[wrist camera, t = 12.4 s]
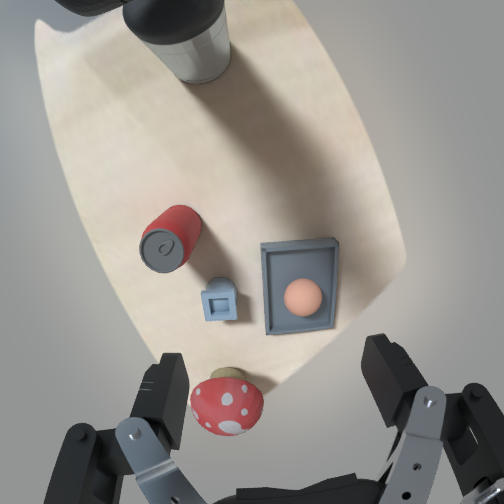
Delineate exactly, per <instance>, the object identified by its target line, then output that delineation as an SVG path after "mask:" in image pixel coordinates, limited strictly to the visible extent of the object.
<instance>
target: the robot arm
mask: <svg viewBox="0 0 504 504" xmlns="http://www.w3.org/2000/svg"><path fill="white" fill-rule="evenodd" d="M55 1H56V2H58V3H59V4H60V5H62V6H63V7H64V8H66V9H68V10H69V11H71V12H73V13H76V14H78V15H81V16H87V17H91V16H96V15H99V14H103V13H105V12H108V11H111V10H113V9H116V8H118V7H120V6H122V5H123V17H124V21H125V23H126V25H127V26H128V28H129V29H130V30H131V31H132V32H133V33H134V34H135V35H136V36H137V37H138V38H139V39H140V40H141V41H142V42H143V43H144V44H145V45H146V46H147V47H148V48H149V49H150V50H151V51H152V52H153V53H154V54H155V55H156V56H157V57H158V58H159V59H160V60H161V61H162V62H163V63H164V64H165V65H166V66H167V67H168V68H169V69H170V70H171V71H172V72H173V73H174V74H175V75H176V76H177V77H178V78H179V79H180V80H182V81H184V82H187V83H192V84H202V83H206V82H209V81H212V80H214V79H216V78H217V77H219V76H220V75H221V74H222V73H223V72H224V71H225V70H226V68H227V67H228V64H229V62H230V57H231V53H230V43H229V34H228V26H227V18H226V11H225V2H224V0H55ZM361 369H362V373H363V376H364V378H365V380H366V382H367V384H368V387H369V388H370V391H371V393H372V395H373V397H374V400H375V402H376V404H377V406H378V408H379V411H380V413H381V415H382V417H383V420H384V422H385V424H386V426H387V428H388V427H391V426H394V425H396V427H397V429H398V430H397V432H396V434H395V437H394V440H393V442H392V445H391V448H390V450H389V453H388V455H387V458H386V460H385V462H384V465H383V467H382V469H381V471H380V473H379V474H378V476H377V478H376V480H375V481H374V480H369V479H357V477H356V474H355V473H352V474H349V475H344V476H339V477H335V478H330V479H327V480H324V481H321V482H319V483H317V484H314V485H312V486H309V487H306V488H304V489H301V490H287V489H277V488H269V487H262V488H242V489H241V488H238V489H236V495H233V496H229V497H226V498H224V499H221V500H219V501H217V502H215V503H213V504H426V503H427V500H428V497H429V494H430V491H431V488H432V485H433V481H434V478H435V475H436V471H437V468H438V464H439V460H440V456H441V452H442V447H444V450H445V452H446V454H447V457H448V459H449V462H450V464H451V466H452V469H453V471H454V474H455V476H456V479H457V482H458V484H459V487H460V489H461V492H462V495H463V499H462V501H461V503H460V504H504V415H503V413H502V412H501V410H500V409H499V407H498V406H497V404H496V402H495V401H494V399H493V398H492V396H491V395H490V393H489V392H488V391H487V389H486V388H485V387H484V386H483V385H481V384H478V383H470V384H468V385H466V386H465V387H464V389H463V391H462V393H453V394H444V392H443V391H442V390H441V389H439V388H437V387H434V386H429V385H428V384H427V382H426V381H425V379H424V378H423V376H422V375H421V373H420V372H419V370H418V369H417V367H416V366H415V364H413V361H412V360H411V358H410V357H409V355H408V354H407V352H406V351H405V350H404V348H403V347H401V346H399V345H398V344H397V343H395V342H393V343H390V341H389V340H388V338H387V337H386V335H385V334H383V333H382V334H377V335H371V336H368V337H367V338H366V342H365V347H364V352H363V356H362V361H361ZM188 394H189V378H188V374H187V371H186V368H185V364H184V361H183V357H182V354H181V353H163V354H162V357H161V360H160V363H159V364H152V365H151V367H150V368H149V369H148V370H147V371H146V372H145V374H144V377H143V380H142V383H141V385H140V390H139V391H138V394H137V397H136V400H135V403H134V405H133V408H132V411H131V414H130V417H129V418H127V419H125V420H123V421H121V422H120V423H119V425H118V426H117V428H115V429H108V430H100V431H96V430H95V429H94V428H93V427H92V426H91V425H89V424H86V423H78V424H75V425H74V426H72V427H71V428H70V429H69V430H68V431H67V434H66V436H65V439H64V442H63V444H62V447H61V450H60V452H59V456H58V458H57V461H56V464H55V467H54V470H53V473H52V476H51V480H50V483H49V486H48V490H47V493H46V497H45V500H44V504H119V499H120V494H121V488H122V482H123V477H124V475H131V474H135V475H136V482H137V484H138V485H139V487H140V489H141V491H142V492H143V494H144V495H145V497H146V499H147V500H148V502H149V503H150V504H207V503H206V502H205V501H204V500H203V499H202V497H201V496H200V495H199V494H198V493H197V491H196V490H195V489H194V488H193V486H192V485H191V484H190V483H189V481H188V480H187V479H186V478H185V476H184V475H183V474H182V472H181V471H180V470H179V468H178V467H177V466H176V464H175V463H174V462H173V461H172V459H171V458H170V452H171V449H173V450H179V448H180V442H181V435H182V429H183V423H184V417H185V411H186V405H187V400H188ZM469 428H471V430H472V432H473V434H474V436H475V437H476V439H477V442H478V444H477V442H476V440H475V438H474V437H473V434H472V433H471V431H470V429H469Z"/></svg>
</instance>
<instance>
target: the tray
mask: <svg viewBox="0 0 504 504" xmlns="http://www.w3.org/2000/svg"><path fill="white" fill-rule="evenodd" d="M260 245H261V262H262V279H263V296H264V313H265V329H266V335H275V334H285V333H295V332H304V331H312V330H321V329H328V328H333V323H334V313H335V301H336V288H337V273H338V254H339V242H338V241H337V240H336V239H335V238H324V239H310V240H296V241H282V242H269V243H260ZM301 278H305V279H310V280H312V281H314V282H315V283H316V284H317V285H318V286H319V288H320V290H321V293H322V301H321V304H320V307H319V308H318V309H317V311H316V312H314V313H313V314H311V315H309V316H297V315H294V314H293V313H291V312H290V311H289V310H288V309H287V307H286V305H285V302H284V293H285V290H286V288H287V287H288V285H289V284H290V283H291V282H293V281H294V280H297V279H301Z"/></svg>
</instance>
